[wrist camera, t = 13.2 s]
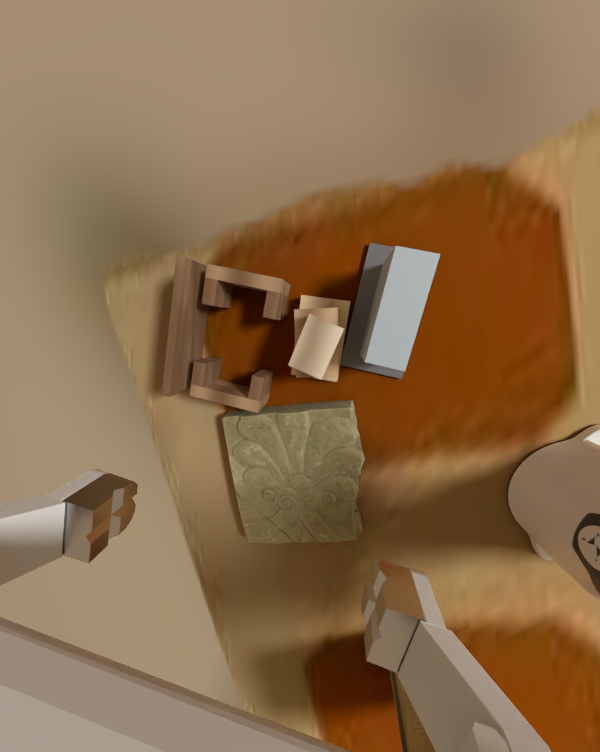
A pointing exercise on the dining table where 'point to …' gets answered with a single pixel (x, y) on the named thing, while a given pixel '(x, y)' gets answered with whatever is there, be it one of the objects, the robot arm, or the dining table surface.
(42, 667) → the robot arm
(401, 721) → the food packaging
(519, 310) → the dining table surface
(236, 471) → the decorative tile
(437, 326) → the dining table surface
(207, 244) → the dining table surface
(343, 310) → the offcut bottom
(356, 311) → the mat
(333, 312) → the offcut middle
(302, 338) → the offcut top
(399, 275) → the light blue rectangular block
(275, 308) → the rack
